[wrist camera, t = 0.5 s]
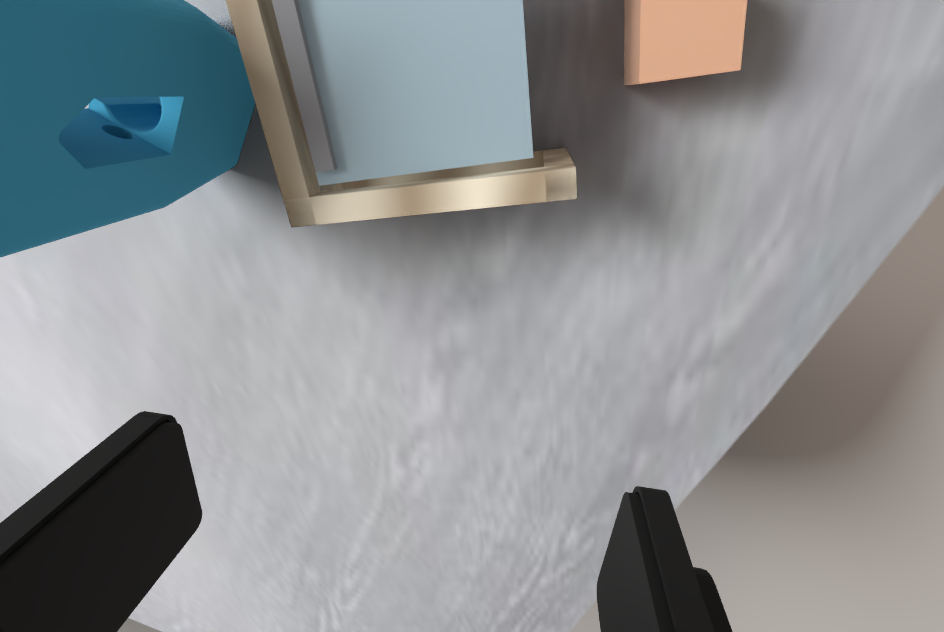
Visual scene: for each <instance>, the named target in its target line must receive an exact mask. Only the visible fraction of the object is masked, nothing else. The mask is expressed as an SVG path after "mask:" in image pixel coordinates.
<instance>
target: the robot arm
mask: <svg viewBox="0 0 944 632" xmlns="http://www.w3.org/2000/svg"><path fill="white" fill-rule="evenodd" d="M201 519H202V509H201V505H200V501H199V497H198V493H197V488H196V484H195V480H194V476H193V472H192V468H191V463H190V459H189V455H188V451H187V447H186V443H185V438H184V434H183V430H182V427H181V425H180V424H178V423H177V421H176V419H175V418H174V417H173V416H171V415H166V414H159V413H153V412H146V411H144V412H140V413H138V414H137V415H135V416H134V417H133V418H131V419H130V420H129V421H128V422H126V423H125V424H124V425H123V426H121V427H120V428H119V429H118V430H116V431H115V432H114V433H112V434H111V435H110V436H109V437H107V438H106V439H105V440H104V441H102V442H101V443H100V444H99V445H97V446H96V447H95V448H94V449H92V450H91V451H90V452H89V453H87V454H86V455H85V456H84V457H82V458H81V459H80V460H79V461H77V462H76V463H75V464H74V465H72V466H71V467H70V468H69V469H67V470H66V471H65V472H64V473H62V474H61V475H60V476H59V477H57V478H56V479H55V480H54V481H52V482H51V483H50V484H49V485H47V486H46V487H45V488H44V489H42V490H41V491H40V492H39V493H37V494H36V495H35V496H34V497H32V498H31V499H30V500H29V501H27V502H26V503H25V504H24V505H22V506H21V507H20V508H19V509H17V510H16V511H15V512H14V513H12V514H11V515H10V516H9V517H7V518H6V519H5V520H4V521H2V522H1V523H0V632H117V631H118V630H119V628H120V627H121V626H122V625H123V623H124V622H125V621H126V619H127V618H128V617H129V616H130V614H131V613H132V612H133V611H134V609H135V608H136V607H137V605H138V604H139V603H140V602H141V600H142V599H143V598H144V596H145V595H146V594H147V593H148V591H149V590H150V589H151V588H152V586H153V585H154V584H155V582H156V581H157V580H158V579H159V577H160V576H161V575H162V573H163V572H164V571H165V570H166V568H167V567H168V566H169V564H170V563H171V562H172V561H173V559H174V558H175V557H176V556H177V554H178V553H179V552H180V550H181V549H182V548H183V547H184V545H185V544H186V543H187V541H188V540H189V539H190V538H191V536H192V535H193V534H194V533H195V531H196V530H197V528H198V527H199V524H200V522H201ZM597 603H598V611H599V620H600V628H601V632H732V629H731V626H730V624H729V621H728V618H727V615H726V613H725V610H724V607H723V604H722V602H721V599H720V596H719V593H718V591H717V588H716V585H715V583H714V581H713V579H712V577H711V575H710V574H709V573H708V572H707V570H704V569H701V568H695V567H693V566H692V563H691V560H690V556H689V554H688V550H687V547H686V544H685V541H684V538H683V535H682V532H681V529H680V526H679V523H678V520H677V517H676V514H675V511H674V508H673V505H672V502H671V499H670V496H669V494H668V492H667V491H665V490H658V489H652V488H645V487H639V486H636V487H635V488H634V490H633V493H628V492H625V493H624V495H623V498H622V501H621V504H620V508H619V511H618V514H617V518H616V521H615V524H614V528H613V531H612V534H611V537H610V541H609V544H608V547H607V551H606V554H605V557H604V561H603V564H602V567H601V571H600V574H599V577H598V582H597Z"/></svg>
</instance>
